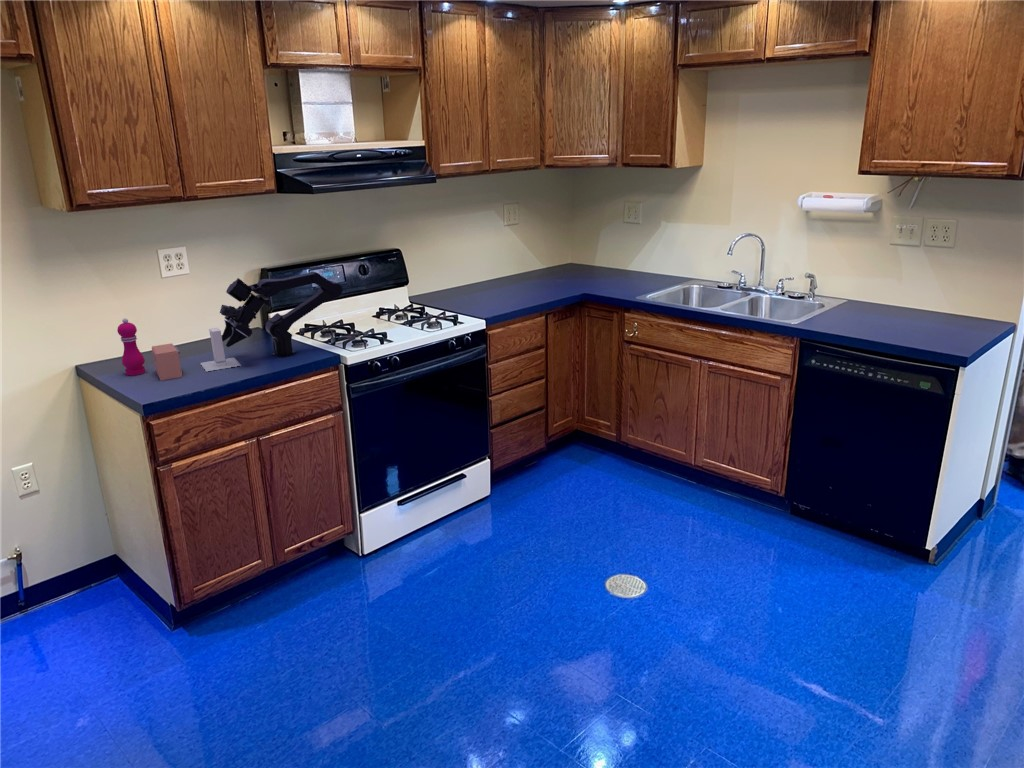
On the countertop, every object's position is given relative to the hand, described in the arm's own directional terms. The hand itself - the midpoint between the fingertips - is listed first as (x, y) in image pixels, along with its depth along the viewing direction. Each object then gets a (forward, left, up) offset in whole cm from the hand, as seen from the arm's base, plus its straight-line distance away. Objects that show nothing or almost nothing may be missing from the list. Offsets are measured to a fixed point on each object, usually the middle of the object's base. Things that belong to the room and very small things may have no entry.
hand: (224, 343), depth 266 cm
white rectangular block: (+1, +2, -7) cm, 8 cm away
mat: (+1, +2, -8) cm, 8 cm away
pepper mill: (+22, +22, -8) cm, 32 cm away
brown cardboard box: (+10, +17, -8) cm, 21 cm away
